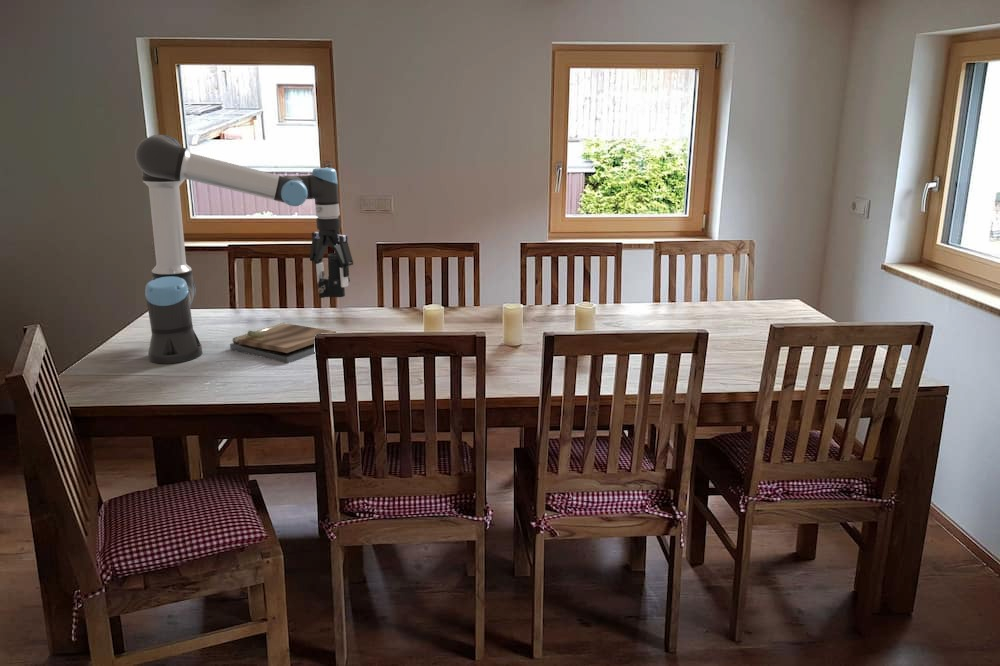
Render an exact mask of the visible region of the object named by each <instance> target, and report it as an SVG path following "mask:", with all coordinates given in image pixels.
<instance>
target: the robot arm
mask: <svg viewBox="0 0 1000 666" xmlns="http://www.w3.org/2000/svg"><path fill="white" fill-rule="evenodd" d="M134 158H135V162H136V164H137V166H138V168H139V169H140V170H141V176H142V177H141V178H142V182H143V183H144V184H145V186H147V187H148V191H149V204H150V212H151V213H150V214H151V222H152V223H151V225H152V232H153V233H152V234H153V242H154V243H153V244H154V253H155V262H156V263H155V264H156V265H155V266H154V267H153V268H152V269H151V276H152V280H149V281H148V282H147V283H146V284H145V290H144V293H145V294H144V295H145V299H146V304H147V309H148V310H147V311H148V318H149V323H150V330H151V338H150V343H149V349H148V359H149V361H150V362H152V363H155V364H176V363H177V364H178V363H183V362H188V361H191V360H194V359H197V358H199V357H200V356H201V355H202V354H203V346H202V344H201V342H200V340H199V338H198V335H197V334H196V332H195V330H194V326H193V320H192V318H193V317H192V312H191V311H192V310H191V305H192V304H193V302H194V299H195V297H196V291H197V290H196V285H195V282H194V279H193V269H192V267H191V266H190V265H188V264H187V259H186V258H187V257H186V247H185V236H184V227H183V226H184V225H183V214H182V201H181V192H180V186H181V185H182V184H183V183H184V182H185V180H188V181H192V182H196V183H201V184H205V185H210V186H213V187H217V188H222V189H225V190H231V191H234V192H239V193H243V194H247V195H252V196H255V197H259V198H264V199H268V200H272V201H275V202H279V203H284V204H286V205H288V206H291V207H299V206H302V204H304V203H305V202H306V201H307V200H314V206H315V216H316V217H317V218H316V219H315V220H316V229H317V230H318V231H314V232H312V233H311V239H312V240H311V245H310V246H311V247H310V248H311V249H310V255H309V261H310V262H313V263H314V268H315V273H316V280H317V281H316V282H317V284H318V281H320V279H321V278H322V272H321V271H324V272H325V264H324V261H323V259H324V255H325V254H326V250H327V248H328V247H331V249H332V250H333V252H334V253H336V256H337V258H338V260H339V262H340V264H341V267H340V279H341V287H344V288H347V287H349V283H350V282H349V283H348V277H349V276H350V270H349V269H350V268H349V267H351V266H353V265H354V260H353V258H352V257H353V256H352V253H351V250H350V245H349V242H348V234H341V233H340V229H341V218H340V217H339V216H340V215H341V212H340V201H339V199H340V198H339V182H338V176H337V175H338V174H337V170H336V169H335V168H333V167H316V168H313V169H312V173H311V174H308V175H278V174H275V173H270V172H267V171H263V170H258V169H254V168H250V167H246V166H243V165H239V164H234V163H232V162H228V161H227V162H226V161H222V160H219V159H216V158H211V157H207V156H204V155H203V156H202V155H200V154H196V153H192V152H191V151H190V150H189V148H186V147H182V146H181V144H180V143H179V142H178V141H177V139H175V138H173V137H171V136H169V135H165V134H160V133H159V134H153V135H150V136H147V137H146V138H144V139H142V140H141V141H140V142H139V143H138V144H137V146H136V148H135V152H134ZM344 262H345V263H344Z"/></svg>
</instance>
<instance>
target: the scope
mask: <svg viewBox="0 0 1000 666" xmlns="http://www.w3.org/2000/svg"><path fill="white" fill-rule="evenodd" d="M327 259H328V260H327V262H328V265H327V268H328V269H327V270H328V276H327V278H326V275H325V270H324V271H321V272H322V278H321V279H320V281H318V283H317V284H318V290H317V291H318V294H319V298H320V299H324V298H343V297H346V294H345V293H346V292H345V288H346V287H341V279H340V267H341V264H340V262H339V260H338V258H337V256H336V253H335V252H334V253H333V252H332V253H328V254H327ZM344 263H345V262H344ZM350 282H351V279H350V277H349V276H348V283H350Z"/></svg>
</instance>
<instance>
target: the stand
mask: <svg viewBox="0 0 1000 666" xmlns="http://www.w3.org/2000/svg"><path fill="white" fill-rule="evenodd" d="M286 324H287V323H285V322H281V323H278V324H274V325H271V326H268V327H265V328H262V329H258V330H254V331H255V332H263V331H266V330H270V329H273V328H276V327H279V326H282V325H286ZM247 335H248V333H245V334H242V335H239V336H235V337H233V338H232V343H230V344H229V346H230V348H229V349H230V350H231V349H232V350H231V351H235V350H237V351H236V352H239V351H241V352H240V353H244V352H245V354H248V353H249V355H252V354H254V356H256V355H257V357H260V356H261V357H260V358H264V357H265V359H268V358H269V359H268V360H272V359H273V361H277V362H281V363H286V364H289V362H290V363H292V362H294V361H295V362H296V361H298V360H300V359H304V358H306V357H308V356H311V355H314V354H316V353H314V344H312V345H309V346H306V347H303V348H300V349H297V350H294V351H292V352H289V353H284V352H279V351H274V350H268V349H263V348H258V347H253V346H247V345H242V344H239V341H238V339H241V338H244V337H246V336H247Z"/></svg>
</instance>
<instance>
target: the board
mask: <svg viewBox="0 0 1000 666" xmlns="http://www.w3.org/2000/svg"><path fill="white" fill-rule="evenodd" d="M285 324H286V325H282V326H279V327H276V328H273V329H270V330H266V331H263V332H255V331H256V330H248V331H247V334H248V335H247V336H246V337H244V338H241V339H238V341H239V344H242V345H247V346H253V347H258V348H263V349H268V350H274V351H279V352H284V353H289V352H292V351H294V350H297V349H300V348H303V347H306V346H309V345H312V344H314V337H315V335H316V334H321V333H336V334H337V331H335V330H330V329H324V328H318V327H311V326H306V325H305V326H304V325H297V324H291V323H285Z"/></svg>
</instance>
